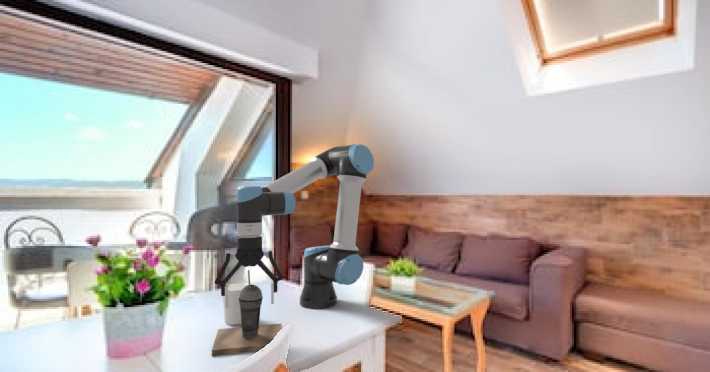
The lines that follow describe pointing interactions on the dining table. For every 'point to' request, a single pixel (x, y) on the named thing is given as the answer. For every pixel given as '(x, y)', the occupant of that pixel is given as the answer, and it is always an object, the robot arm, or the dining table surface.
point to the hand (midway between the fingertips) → (249, 304)
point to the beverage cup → (250, 309)
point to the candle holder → (233, 304)
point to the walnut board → (243, 339)
